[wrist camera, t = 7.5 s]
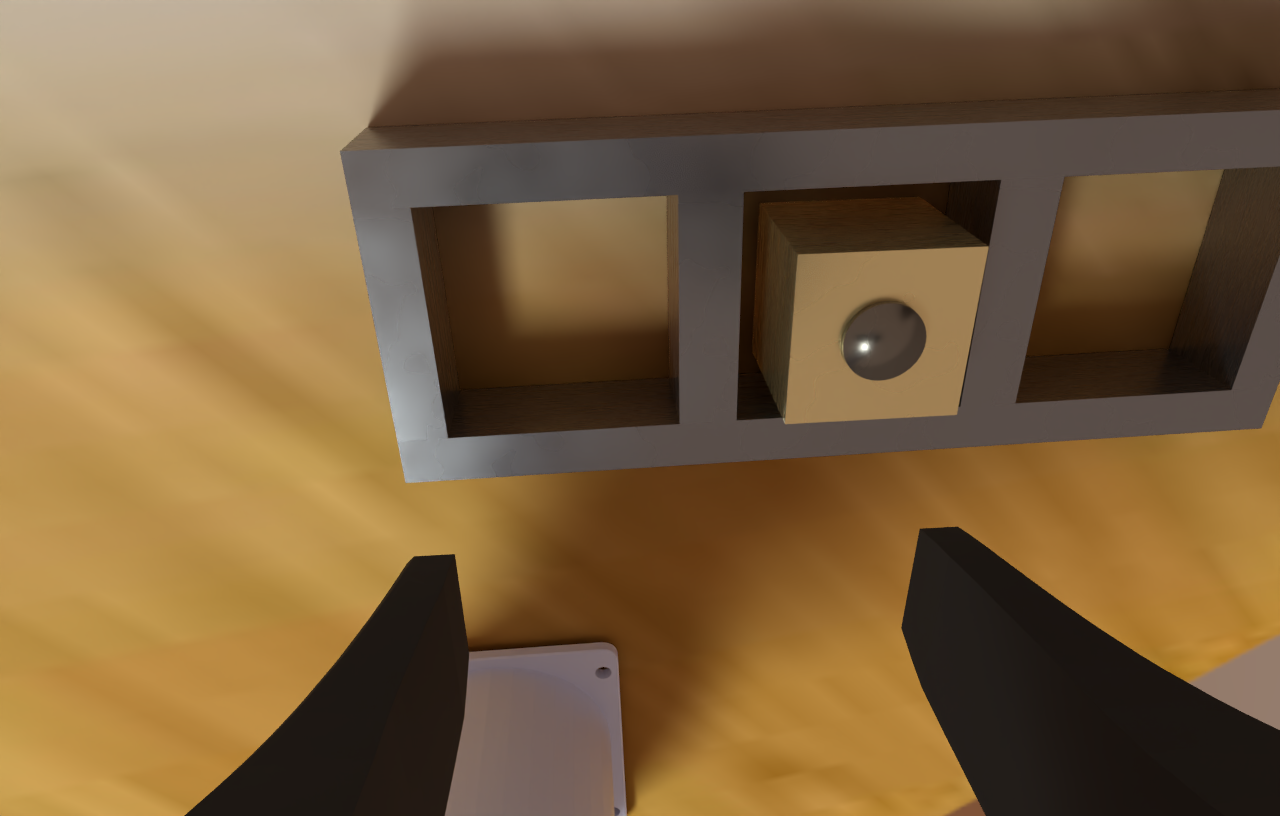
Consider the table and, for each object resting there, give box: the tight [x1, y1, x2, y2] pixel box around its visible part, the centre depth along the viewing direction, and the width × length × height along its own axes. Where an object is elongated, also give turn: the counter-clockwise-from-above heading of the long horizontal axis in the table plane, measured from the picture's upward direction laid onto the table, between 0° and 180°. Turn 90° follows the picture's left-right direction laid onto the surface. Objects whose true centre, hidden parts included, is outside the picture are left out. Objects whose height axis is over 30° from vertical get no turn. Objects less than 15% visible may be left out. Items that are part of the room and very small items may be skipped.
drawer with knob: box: [752, 197, 989, 424], centre depth 20 cm, size 4×4×4 cm
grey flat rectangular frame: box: [340, 89, 1280, 483], centre depth 20 cm, size 8×22×2 cm, turn 92°
